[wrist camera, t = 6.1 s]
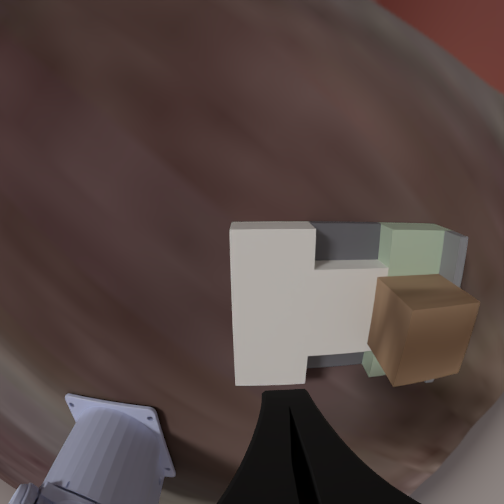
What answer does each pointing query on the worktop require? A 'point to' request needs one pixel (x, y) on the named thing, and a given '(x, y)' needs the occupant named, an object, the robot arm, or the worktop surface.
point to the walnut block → (420, 327)
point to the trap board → (322, 290)
